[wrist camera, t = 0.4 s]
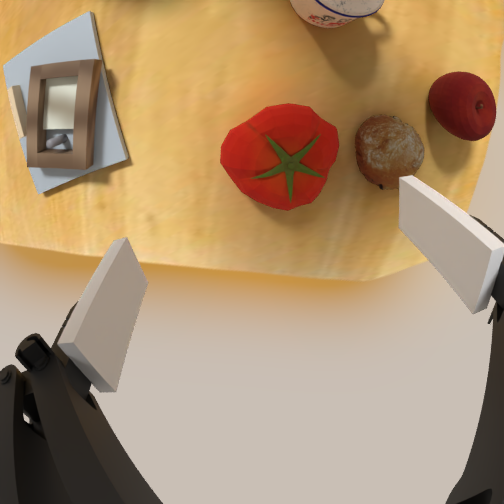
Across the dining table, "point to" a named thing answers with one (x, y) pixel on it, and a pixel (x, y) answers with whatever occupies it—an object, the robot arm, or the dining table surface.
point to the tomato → (281, 155)
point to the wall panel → (106, 129)
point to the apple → (463, 105)
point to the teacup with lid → (334, 11)
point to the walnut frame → (62, 112)
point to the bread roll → (388, 150)
